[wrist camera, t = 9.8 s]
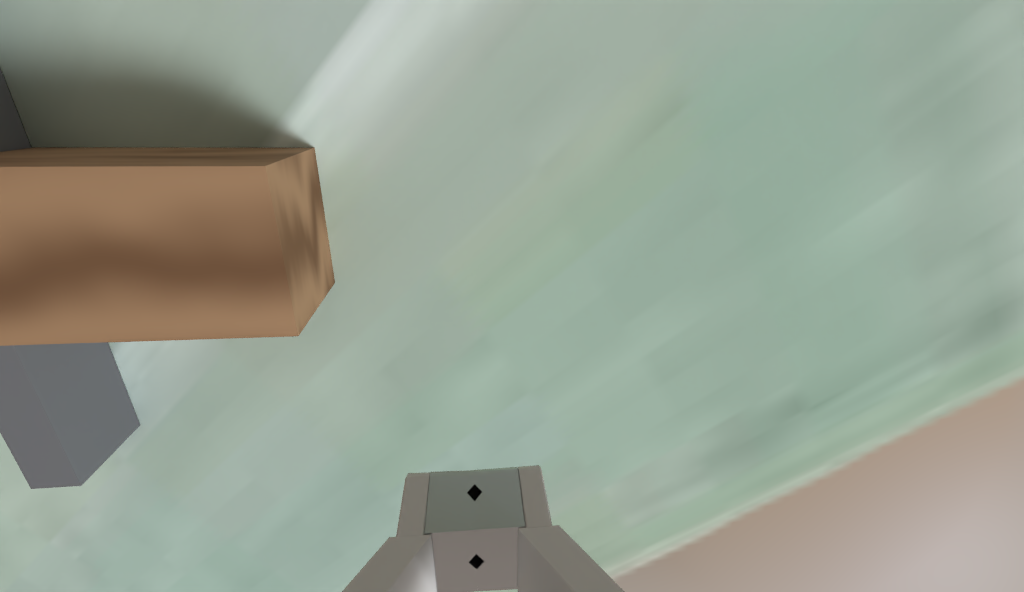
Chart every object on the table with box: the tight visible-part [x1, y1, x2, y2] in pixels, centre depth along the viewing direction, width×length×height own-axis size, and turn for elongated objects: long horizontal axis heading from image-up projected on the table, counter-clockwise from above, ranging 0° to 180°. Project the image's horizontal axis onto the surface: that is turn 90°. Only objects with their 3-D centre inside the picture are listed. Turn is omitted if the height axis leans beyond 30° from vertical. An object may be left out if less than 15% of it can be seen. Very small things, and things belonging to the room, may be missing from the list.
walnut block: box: [0, 147, 335, 346], centre depth 27 cm, size 9×16×8 cm, turn 89°
